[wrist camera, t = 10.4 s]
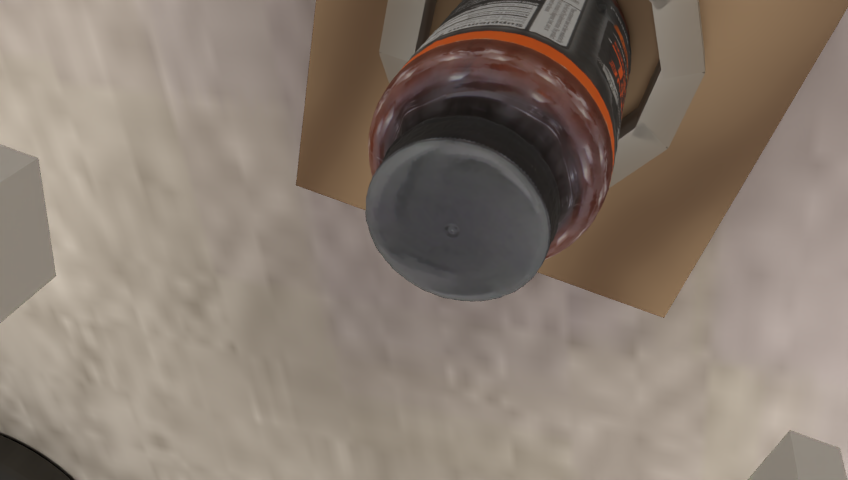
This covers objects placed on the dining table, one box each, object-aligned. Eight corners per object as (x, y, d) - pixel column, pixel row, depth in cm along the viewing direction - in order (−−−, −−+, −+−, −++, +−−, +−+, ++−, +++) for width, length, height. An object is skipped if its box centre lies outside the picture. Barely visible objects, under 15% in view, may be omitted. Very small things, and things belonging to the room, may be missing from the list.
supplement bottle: (628, 133, 24) (594, 359, 15) (460, 127, 26) (343, 326, 17) (641, -51, 21) (607, 101, 12) (447, -44, 23) (294, 93, 14)
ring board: (306, 173, 31) (278, 204, 29) (369, -360, 20) (331, -371, 17) (664, 302, 29) (662, 344, 27) (959, -206, 18) (994, -199, 16)
